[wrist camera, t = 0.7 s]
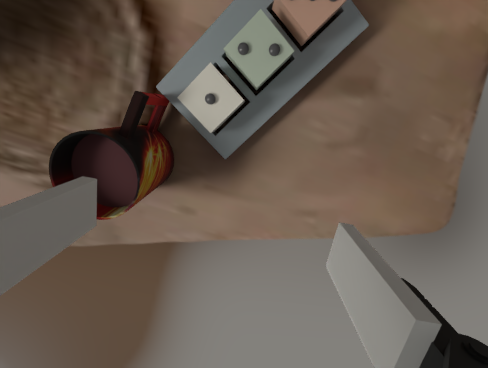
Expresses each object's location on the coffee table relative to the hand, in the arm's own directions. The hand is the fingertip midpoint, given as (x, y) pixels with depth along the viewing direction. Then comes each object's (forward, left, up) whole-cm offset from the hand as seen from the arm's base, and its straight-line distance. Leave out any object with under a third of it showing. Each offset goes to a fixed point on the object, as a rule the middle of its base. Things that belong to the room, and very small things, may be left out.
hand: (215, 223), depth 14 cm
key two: (-7, +10, -22) cm, 26 cm away
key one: (-7, +3, -22) cm, 24 cm away
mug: (-11, -10, -25) cm, 29 cm away
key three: (-7, +18, -22) cm, 29 cm away
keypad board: (-7, +10, -25) cm, 28 cm away
